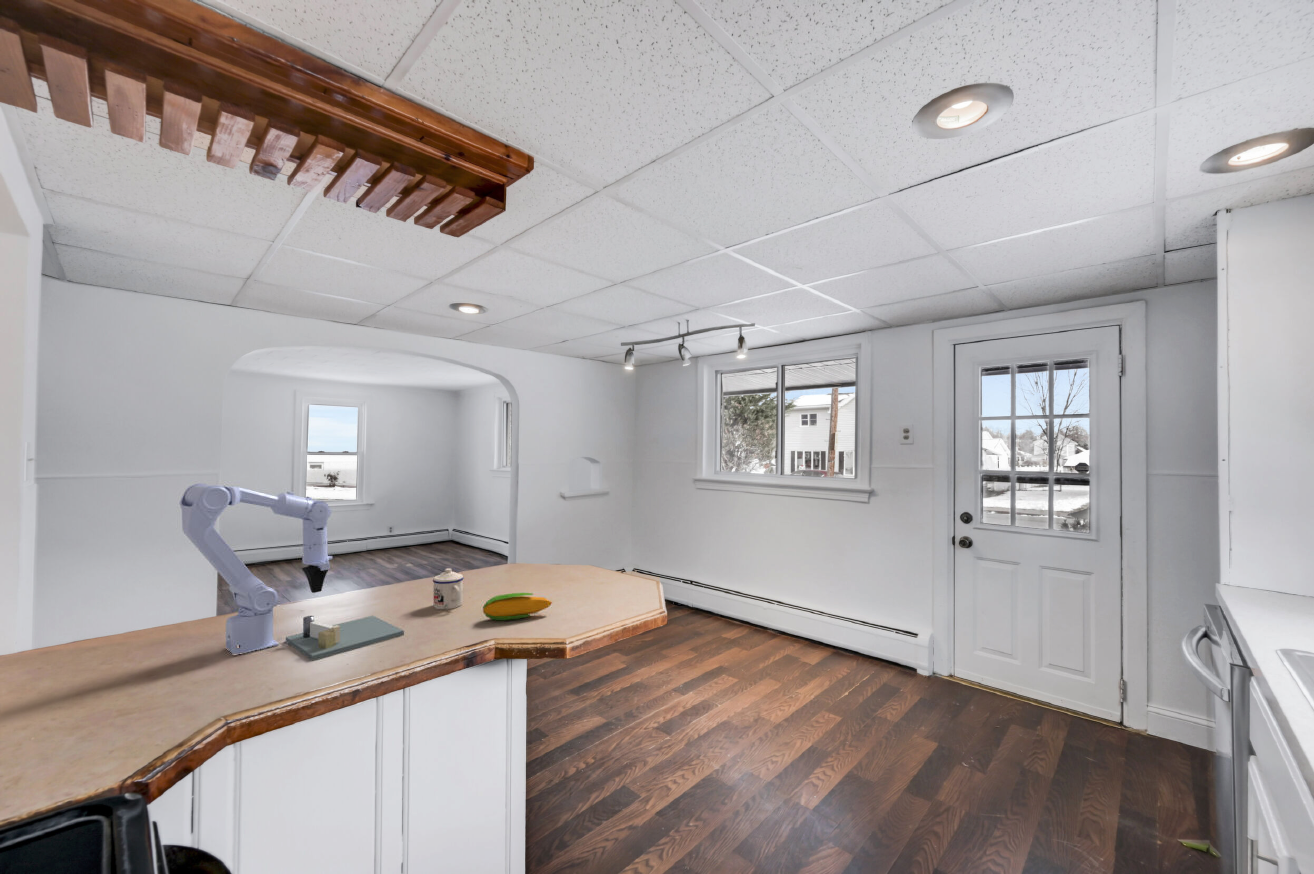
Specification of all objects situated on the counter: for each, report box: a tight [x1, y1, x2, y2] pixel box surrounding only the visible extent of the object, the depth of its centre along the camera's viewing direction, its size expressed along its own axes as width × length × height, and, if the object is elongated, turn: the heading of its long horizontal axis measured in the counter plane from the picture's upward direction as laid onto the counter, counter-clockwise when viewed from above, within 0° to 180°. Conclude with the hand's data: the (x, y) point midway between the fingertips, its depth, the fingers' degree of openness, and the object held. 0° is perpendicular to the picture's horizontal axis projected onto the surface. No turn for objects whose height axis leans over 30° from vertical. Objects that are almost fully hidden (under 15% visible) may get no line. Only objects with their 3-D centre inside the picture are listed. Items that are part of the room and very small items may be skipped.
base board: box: [285, 615, 405, 662], centre depth 145 cm, size 22×19×1 cm
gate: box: [310, 620, 340, 643], centre depth 140 cm, size 10×1×4 cm, turn 63°
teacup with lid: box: [432, 568, 464, 610], centre depth 172 cm, size 12×9×12 cm
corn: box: [482, 592, 553, 621], centre depth 162 cm, size 7×8×20 cm
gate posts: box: [302, 615, 335, 649], centre depth 139 cm, size 3×14×5 cm, turn 51°
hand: (316, 591), depth 151 cm, fingers closed
